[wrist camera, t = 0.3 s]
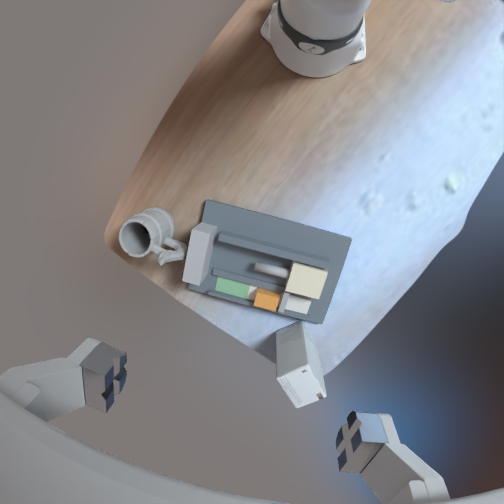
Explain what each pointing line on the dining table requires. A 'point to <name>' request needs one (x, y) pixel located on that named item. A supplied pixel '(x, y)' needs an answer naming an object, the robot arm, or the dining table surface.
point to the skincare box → (299, 365)
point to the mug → (152, 236)
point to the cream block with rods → (297, 279)
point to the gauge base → (260, 257)
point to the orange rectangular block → (267, 299)
